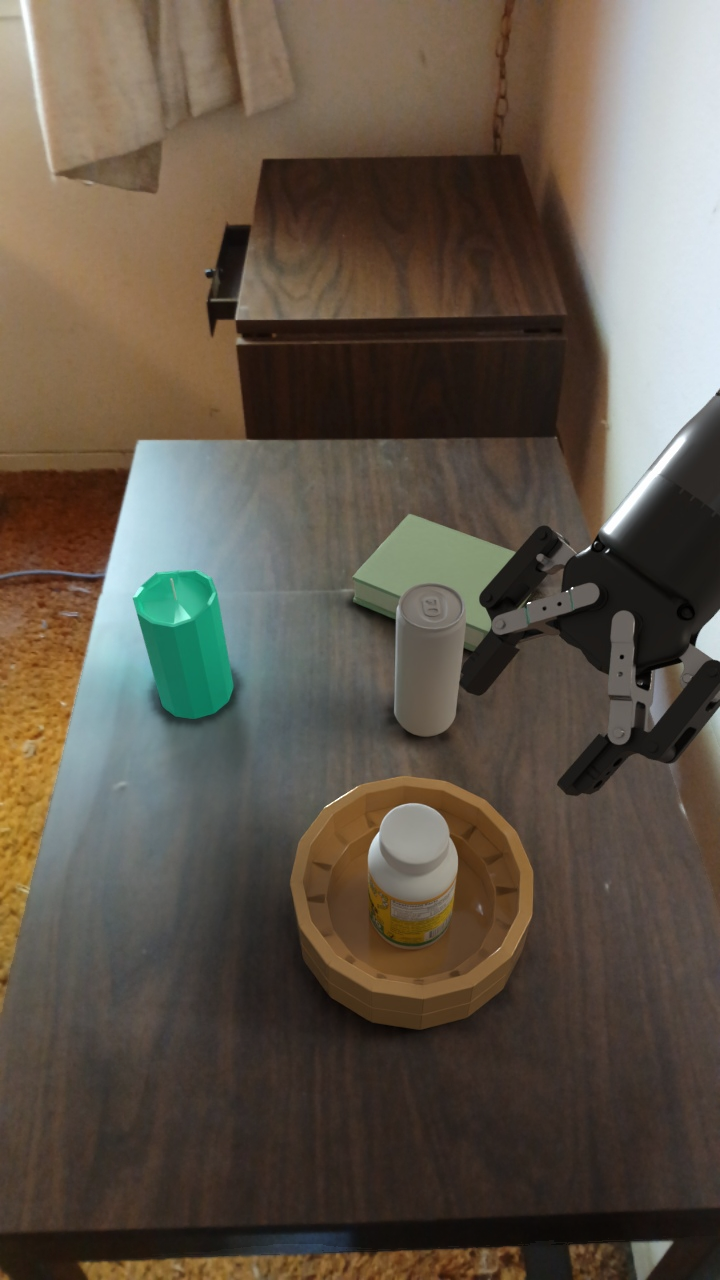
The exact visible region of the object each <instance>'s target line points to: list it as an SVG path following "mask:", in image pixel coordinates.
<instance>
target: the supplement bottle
mask: <svg viewBox="0 0 720 1280" xmlns="http://www.w3.org/2000/svg"><path fill="white" fill-rule="evenodd" d="M457 870H458V855H457V851H456V848H455V845H454V843H453V841H452V840H451V838H450V837H449V829H448V825H447V823H446V821H445V820H444V818H443V817H442V816H441V815H440V814H439V813H438V812H437V811H436V810H434V809H432V808H431V807H428V806H426V805H422V804H413V803H412V804H404V805H401V806H398V807H396V808H394V809H393V810H391V811H390V812H389V813H388V814H387V815H386V816H385V817H384V819H383V821H382V823H381V826H380V831H379V833H378V834H377V835H376V836H375V838H374V839H373V841H372V843H371V846H370V849H369V854H368V898H369V915H370V919H371V922H372V924H373V926H374V928H375V929H376V931H377V932H378V934H379V935H380V936H381V937H382V938H383V939H384V940H385V941H386V942H388V943H389V944H391V945H393V946H395V947H398V948H402V949H421V948H425V947H427V946H430V945H431V944H433V943H435V942H436V941H438V940H439V939H440V938H441V937H442V936H443V935H444V933H445V932H446V930H447V928H448V926H449V924H450V921H451V916H452V909H453V901H454V892H455V885H456V878H457Z"/></svg>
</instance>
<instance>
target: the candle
mask: <svg viewBox="0 0 720 1280" xmlns="http://www.w3.org/2000/svg"><path fill="white" fill-rule="evenodd" d="M132 601H133V604H134V608H135V611H136V612H135V613H136V615H137V619H138V622H139V627H140V630H141V633H142V638H143V643H144V645H145V648H146V653H147V655H148V660H149V663H150V668H151V671H152V674H153V678H154V683H155V686H156V688H157V694H158V697H159V700H160V703H161V707H162V708H163V709H164V710H166V711H167V712H168V713H170V714H171V715H173V716H174V717H177V718H185V719H192V720H196V719H197V720H198V719H200V718H204V717H207V716H211V715H215V714H216V713H217V712H218V711H220V709H222V708H223V707H224V706H226V705H227V703H229V702H230V698H231V697H232V693H233V690H234V688H235V687H234V685H235V684H234V680H233V675H232V669H231V664H230V663H231V662H230V657H229V652H228V646H227V641H226V640H227V639H226V636H225V635H226V634H225V629H224V624H223V618H222V617H223V616H222V612H221V611H222V610H221V607H220V606H221V605H220V601H219V594H218V591H217V588H216V585H215V583H214V579H213V577H212V576H210V575H208V574H206V573H205V572H203V571H201V570H200V569H182V570H169V571H157V572H155V573H153V575H151V577H149V578H148V579H147V580H146V581H145V582H144V583H143V584H142V585H140V586H139V588H138V589H137V591H136V592H135V593H134V595H133V596H132Z"/></svg>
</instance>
